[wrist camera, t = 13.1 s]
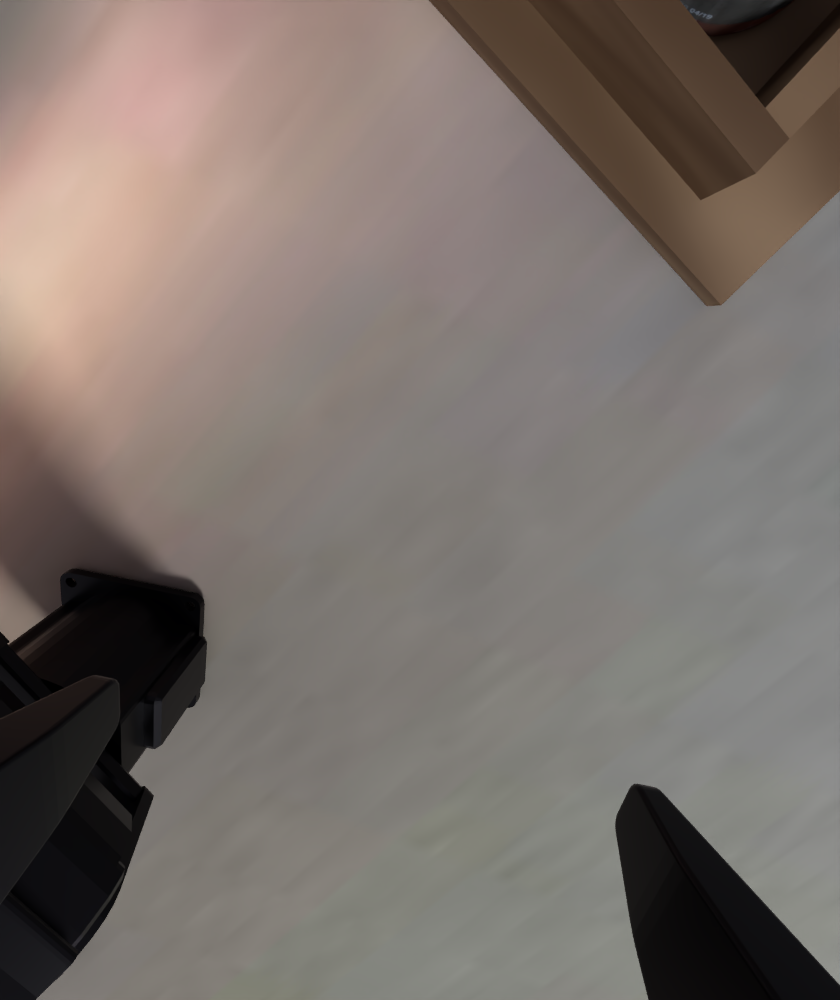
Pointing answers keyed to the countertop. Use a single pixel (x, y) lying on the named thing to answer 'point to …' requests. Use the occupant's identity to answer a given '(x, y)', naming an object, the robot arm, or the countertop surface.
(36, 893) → the robot arm
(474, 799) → the countertop surface
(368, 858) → the countertop surface
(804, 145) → the bottle stand
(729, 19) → the supplement bottle
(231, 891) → the countertop surface
